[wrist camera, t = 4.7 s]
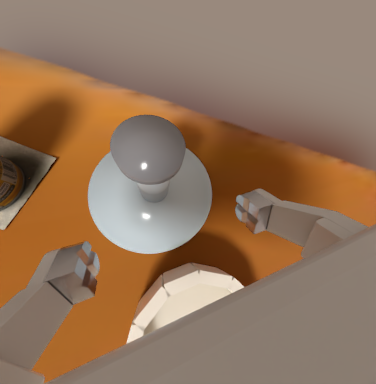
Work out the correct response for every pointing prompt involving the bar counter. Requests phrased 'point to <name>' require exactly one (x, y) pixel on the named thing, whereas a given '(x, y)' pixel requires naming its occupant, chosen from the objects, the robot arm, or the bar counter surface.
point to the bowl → (180, 296)
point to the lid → (149, 188)
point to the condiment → (18, 176)
